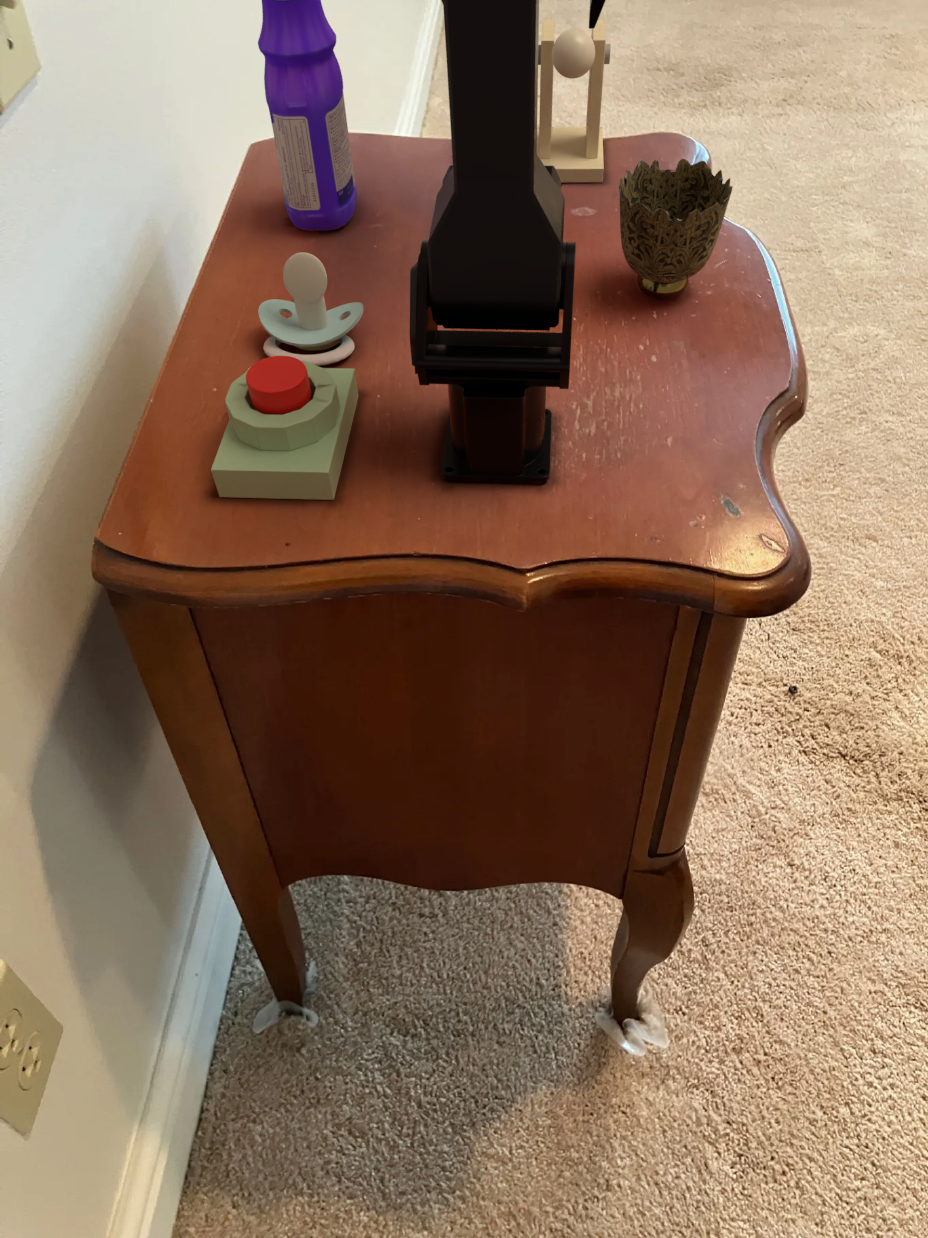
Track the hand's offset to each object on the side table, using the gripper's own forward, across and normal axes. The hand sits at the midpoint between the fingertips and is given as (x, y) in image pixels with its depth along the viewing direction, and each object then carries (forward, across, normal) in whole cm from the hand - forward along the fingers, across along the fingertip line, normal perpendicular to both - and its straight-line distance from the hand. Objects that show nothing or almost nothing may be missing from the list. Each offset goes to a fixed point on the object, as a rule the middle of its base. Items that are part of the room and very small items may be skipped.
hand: (524, 26), depth 65 cm
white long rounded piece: (+7, -3, -7) cm, 10 cm away
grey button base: (+12, +13, +29) cm, 33 cm away
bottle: (+15, +16, 0) cm, 22 cm away
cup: (+14, -11, +10) cm, 20 cm away
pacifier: (+13, +14, +18) cm, 26 cm away
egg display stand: (+15, -3, -10) cm, 19 cm away
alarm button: (+8, +13, +28) cm, 32 cm away
